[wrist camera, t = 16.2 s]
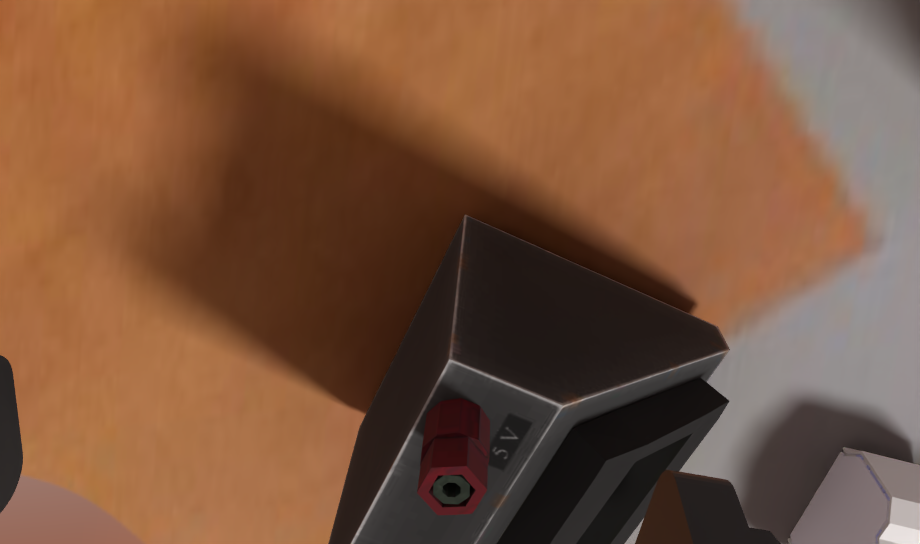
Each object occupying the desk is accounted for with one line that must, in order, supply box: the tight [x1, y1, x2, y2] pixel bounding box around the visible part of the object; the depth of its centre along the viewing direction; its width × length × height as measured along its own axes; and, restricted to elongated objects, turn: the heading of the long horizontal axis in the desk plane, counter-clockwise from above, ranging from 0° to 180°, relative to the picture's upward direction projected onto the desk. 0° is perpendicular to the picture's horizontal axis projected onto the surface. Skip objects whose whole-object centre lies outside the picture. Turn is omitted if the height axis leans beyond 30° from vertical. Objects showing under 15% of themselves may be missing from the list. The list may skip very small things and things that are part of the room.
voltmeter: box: [329, 215, 730, 544], centre depth 39 cm, size 16×16×20 cm
